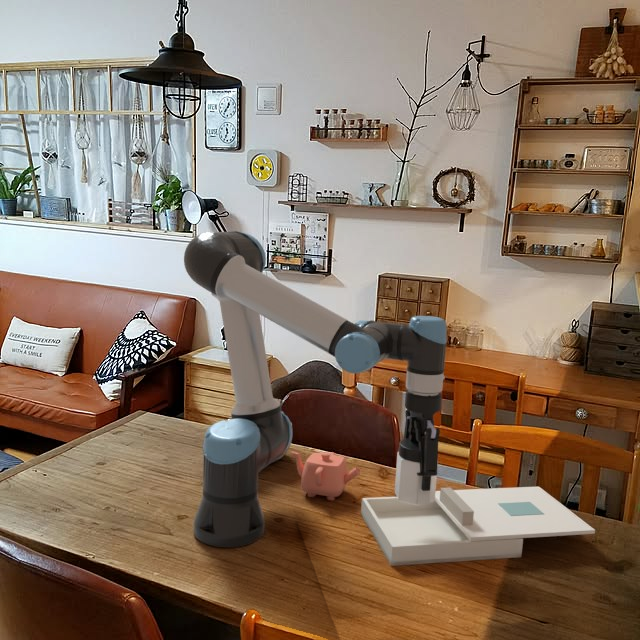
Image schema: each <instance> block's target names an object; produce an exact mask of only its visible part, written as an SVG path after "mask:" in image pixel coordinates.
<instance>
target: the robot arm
mask: <svg viewBox="0 0 640 640" xmlns="http://www.w3.org/2000/svg"><path fill="white" fill-rule="evenodd" d="M183 255H184V256H183V264H184V268H185V272H186V273H187V275H188V276H189V278H190V279H191V280H192V281H193V282H195V284H197V285H198V286H199V287H201V288H203V289H204V290H206V291H208V292H209V293H211V295H212V296H213V297H214V298H215V299H216V300H217V301H219V306H220V312H221V319H222V324H223V330H224V331H223V332H224V337H225V344H226V349H227V355H228V361H229V368H230V374H231V380H232V387H233V392H234V393H233V394H234V399H235V404H234V406H233V407H232V409H231V410H230V414H231V415H230V416H231V418H228V419H227V420H224V419H223V420H220V421H216V422H214V423H213V424H212V425H210V426H209V427H208V428H207V430H206V432H205V434H204V438H203V439H204V441H203V446H202V451H203V453H202V454H203V461H202V464H203V466H202V467H203V468H202V469H203V470H202V472H203V473H202V478H203V479H202V499H200V504H199V506H198V509H197V512H196V514H195V517H194V521H193V535H194V537H195V538H196V539H197V540H198V541H200V542H201V543H203V544H206V545H209V546H212V547H218V548H219V547H220V548H237V547H243V546H247V545H249V544H252V543H254V542H257V541H258V540H260V538H261V537H262V536H263V535H264V532H265V518H264V514H263V512H262V508H261V504H260V501H259V497H258V487H259V486H258V484H259V473H260V472H262V470H264V469H265V468H266V467H268V466H269V465H270V464H272V463H274V462H273V461H275V460H277V459H278V458H279V457H281V456H282V455H283V453H284V452H285V451H286V450H287V448H288V447H289V445H290V443H291V444H292V441H291V440H293V433H294V432H293V424H292V425H291V423H292V422H291V420H290V419H289V417H288V415H286V414H285V412H284V411H283V410H282V407H281V404H280V402H279V401H277V400H276V399H277V398H275V397H274V396H273V391H272V385H271V377H270V372H269V371H270V370H269V365H268V358H267V352H266V346H265V339H264V332H263V329H262V320H261V316H262V317H264V318H266V319H267V320H269V321H270V322H273V323H275V324H276V325H278V326H279V327H281V328H283V329H285V330H286V331H288V332H289V333H292V334H294V335H295V336H297V337H299V338H300V339H303V340H304V341H306V342H308V343H309V344H311V345H313V346H315V347H317V348H318V349H320V350H322V351H324V352H325V353H327V354H328V355H331V356H333V357H334V358H335V360H336V362H337V364H338V366H339V367H340V368H341V370H343V371H345V372H347V373H349V374H360V373H364V372H366V371H370V370H371V369H373V368H374V367H375V366H376V365H377V364H379V363H380V362H382V361H383V360H385V359H387V360H393V361H403V362H405V361H406V363H407V367H406V379H405V388H406V389H407V390H406V391H405V393H404V396H405V398H404V408H405V409H406V410H405V425H404V431H403V439H406V438H409V439H408V440H409V441H410V442H414V441H418V442H419V459H420V473H417V475H418V481H417V495H416V504H417V505H421V504H430V491H431V478H432V476H436V475H438V467H437V463H438V464H439V459H438V457H439V438H440V431H441V429H440V428H439V427H435V421H434V415H435V414H438V413H440V411H441V410H442V405H443V404H442V403H443V394H442V393H441V392H442V391H443V385H444V380H445V379H446V376H445V375H444V373H445V361H446V352H447V351H446V350H447V342H448V339H447V330H448V329H447V328H448V327H447V321H446V320H445V319H443V318H441V317H440V316H439V317H438V316H433V315H415V316H411V318H410V320H409V323H408V324H407V323H406V324H399V323H390V322H383V321H382V322H381V321H375V320H373V319H371V320H357V321H356V322H355V323H354V322H351V321H349V320H348V319H347V318H345V317H343V316H341V315H340V314H337V313H335V312H334V311H332V310H330V309H328V308H326V307H324V306H322V305H321V304H320V303H317V302H316V301H314V300H312V299H310V298H308V297H306V296H305V295H303V294H301V293H299V292H297V291H295V290H293V289H292V288H290V287H289V286H286V285H285V284H282V283H281V282H279V281H277V280H275V279H273V277H270V276H268V275H267V274H265V273H263V271H264V270H265V268H266V262H267V259H266V258H267V257H266V252H265V250H264V247H263V246H262V244H261V243H260V241H259V240H258V239H257V238H255V237H254V236H252V235H251V234H248V233H245V232H241V231H236V230H235V231H232V230H231V231H206V232H202V233H200V234H198V235H196V236H195V237H193V238H192V239H191V240H190V242H189V243H188V244H187V246H186V248H185V251H184V253H183ZM290 446H291V445H290ZM277 461H278V460H277ZM271 462H272V463H271ZM275 462H276V461H275Z"/></svg>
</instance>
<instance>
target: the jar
mask: <svg viewBox="0 0 640 640" xmlns="http://www.w3.org/2000/svg"><path fill="white" fill-rule="evenodd" d="M408 439H409V438H406V439H404V438H403V439H401V440H400V441H399V443H398V446H399V447H398V451H397V452H396V453H397V454H396V455H397V456H396V467H395V468H396V469H395V480H394V481H395V482H394V483H395V484H394V493H395V494H394V495H396V496H395V497H397V498H398V500H399V501H401V502H405V503H409V504H413V505H417V504H416V495H417V481H418V475H417V473H420V459H419V442H418V441H414V442H410V441H409V440H408ZM438 464H439V462H438V463H437V468H438V467H439V465H438ZM437 475H438V474H437ZM437 475H436V476H432V478H431V491H430V503H431V502H434V501H435V491H437V490H436V489H437V478H438V477H437ZM421 505H424V504H421ZM417 506H420V505H417Z"/></svg>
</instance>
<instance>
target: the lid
mask: <svg viewBox="0 0 640 640" xmlns="http://www.w3.org/2000/svg"><path fill="white" fill-rule="evenodd" d="M435 501H436V502H437V503H438V504H439V505H440V507H441V508H442V509H443V510H444V511H445V512H446V513H447V515H448V516H449V517H450V518H451V519H452V520H453V522H454V523H455V524H456V525H457V526H458V527H459V528H460V530H461V531H462V532H463V533H464V534H465V535H466V536H467V538H468V539H469V540H470V541H482V540H498V539H514V538H523V539H527V538H528V539H529V538H530V539H531V538H544V537H545V538H546V537H547V538H548V537H558V536H559V537H563V536H564V537H565V536H576V535H578V536H579V535H591V534H592V535H594V534H595V533H596V529H595V528H593V527H592V526H590V524H588V523H587V522H585V521H584V520H583V519H582V518H580V516H577V514H575V513H574V512H572V511H571V510H570V509H569V508H568V507H566V506H565V505H563V504H562V503H561V502H560V501H559V500H557V499H556V498H555V497H553V496H552V495H551V494H549V493H548V492H547V491H545V490H544V489H543V488H541V487H540V486H522V487H521V486H520V487H519V486H517V487H500V488H499V487H494V488H476V489H475V488H473V489H453V488H452V487H440V490H436V491H435Z"/></svg>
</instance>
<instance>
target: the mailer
mask: <svg viewBox="0 0 640 640" xmlns="http://www.w3.org/2000/svg"><path fill="white" fill-rule="evenodd" d="M360 507H361V508H360V516H361V518H362V519H363V520H364V522H365V524H366V526H367V528H368V529H369V531H370V533H371V535H372V537H374V538H373V539H374V540H375V542H376V543H377V545H378V546H379V548H380V550H381V551H382V553H383V556H385V558H386V559H387V562H388V563H389V565H390V566H391V567H396V566H410V565H426V564H439V563H453V562H466V561H467V562H468V561H481V560H482V561H484V560H498V559H500V560H501V559H512V558H522V554H523V544H524V538H514V539H498V540H482V541H470V540H469V539H468V538H467V536H466V535H465V534H464V533H463V532H462V531H461V530H460V528H459V527H458V526H457V525H456V524H455V523H454V522H453V520H452V519H451V518H450V517H449V516H448V515H447V513H446V512H445V511H444V510H443V509H442V508H441V507H440V505H439V504H438V503H437V502H436V501H434V502H431V503H430V504H424V505H420V506H417V505H413V504H409V503H405V502H401V501H399V500H398V498H397V496H384V497H383V496H380V497H363V498H361V506H360Z"/></svg>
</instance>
